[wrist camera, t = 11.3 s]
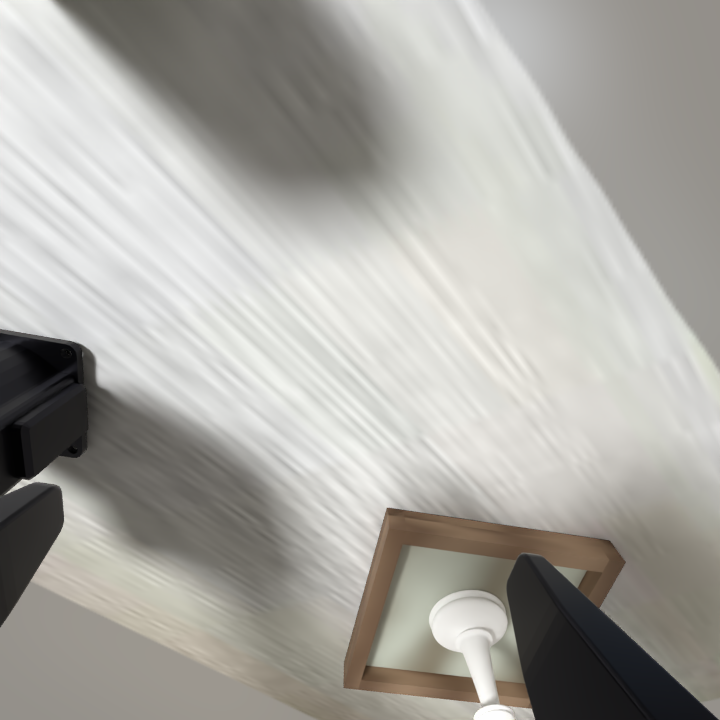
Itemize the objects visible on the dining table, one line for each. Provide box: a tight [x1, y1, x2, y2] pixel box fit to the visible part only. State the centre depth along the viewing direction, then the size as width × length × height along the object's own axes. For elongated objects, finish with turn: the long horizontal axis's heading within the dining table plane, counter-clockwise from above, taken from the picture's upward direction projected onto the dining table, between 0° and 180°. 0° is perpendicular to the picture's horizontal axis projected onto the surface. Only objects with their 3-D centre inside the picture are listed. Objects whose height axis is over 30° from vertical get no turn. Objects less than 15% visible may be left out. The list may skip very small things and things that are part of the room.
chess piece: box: [429, 590, 515, 720], centre depth 22 cm, size 5×5×10 cm
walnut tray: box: [344, 508, 626, 709], centre depth 27 cm, size 14×14×2 cm
